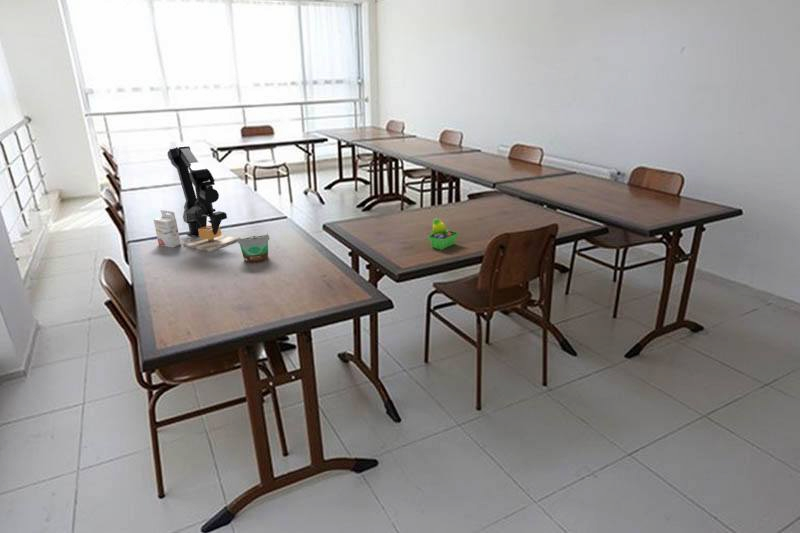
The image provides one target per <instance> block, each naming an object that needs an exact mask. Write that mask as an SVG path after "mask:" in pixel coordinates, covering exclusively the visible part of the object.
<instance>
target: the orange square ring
mask: <svg viewBox="0 0 800 533" xmlns="http://www.w3.org/2000/svg"><path fill="white" fill-rule="evenodd" d="M207 227H212V225H211V224H209V225H207V226H205V227H202V228H199V229H198V232H199V235H198V236H199V237H198V238H203V239H208V240H211V239H213V238H216V237H219V236H221V235H222V231H221V226H219V228H218V231H217V234H216V235H214V233H213V229H210V230H206V228H207Z"/></svg>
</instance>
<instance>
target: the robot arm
mask: <svg viewBox="0 0 800 533" xmlns="http://www.w3.org/2000/svg"><path fill="white" fill-rule="evenodd" d="M167 157H168V160H170V164H171V165H172V166H173V167H174V168H175V169H176V170H177V174H178V177H179V181H180V184H181V188H182V192H183V195H184V199H185V202H184V206H183V209H184V210H183V214H182V219H183V222H184V223H186V224H187V225H188V231H189V232H187V233H186V235H189V236H193V237H197V236H199V232H198V229H199V228H202V227H205V226H208V225H207V223H209V224H210V225H212V229H213V233H214V235H216V234H217V231H218V228H219V227H220V225H221V224H222V221H224V220H227V219H228V215H227V213H226V212H225V211H220V210H219V211H216V208H213V207H214V206H213V204H214V203H216V202H217V201H218V200H219V196H220V194H219V192H218V191H217V190H216V189H215V188H213V186H215V178H214V177H213V174H212V173H211V171H210V170H209V168H207V166H205V164H203V163H200V161H199V160H198V159H197V157H196V156H195V155H194V154H193V152H192V151H191V147H190V146H189V145H187V144H186V145H178V146H176V147H175V148H173V147H172V148H169V150H168V151H167ZM208 217H209V220H207V219H208Z"/></svg>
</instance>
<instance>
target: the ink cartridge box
mask: <svg viewBox="0 0 800 533" xmlns="http://www.w3.org/2000/svg"><path fill="white" fill-rule="evenodd" d="M160 213H161V214H160V215H161V216H160V217H156V218H153V223H154V228H155V233H156V236H157V237H156V238H157V242H158V246H162V245H163V246H164V247H167V246H168V247H167V248H174V247H177V246H180V245H181V244H182V243H181V238H180V232H179V227H178V222H177V218H176V214H175V212H174V211H170V210H169V211H168V210H162V209H161V210H160Z"/></svg>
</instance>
